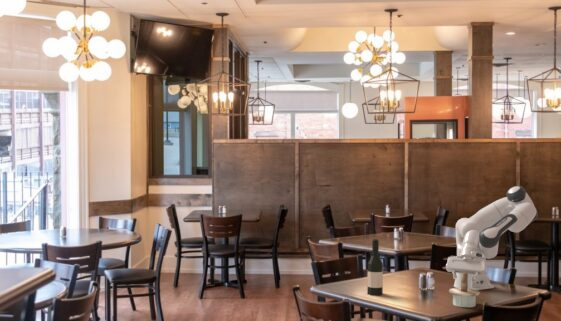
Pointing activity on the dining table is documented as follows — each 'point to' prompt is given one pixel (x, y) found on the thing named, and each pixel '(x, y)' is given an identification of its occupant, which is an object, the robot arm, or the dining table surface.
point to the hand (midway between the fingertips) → (463, 279)
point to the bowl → (464, 301)
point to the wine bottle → (375, 271)
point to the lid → (464, 288)
